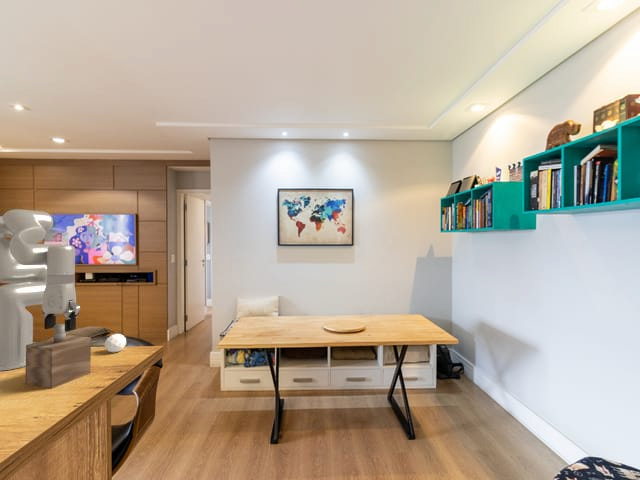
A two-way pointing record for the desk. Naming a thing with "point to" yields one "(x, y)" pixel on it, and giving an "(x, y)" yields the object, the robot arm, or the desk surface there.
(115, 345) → the geometric ball
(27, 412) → the desk surface
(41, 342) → the walnut cover
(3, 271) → the robot arm
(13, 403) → the desk surface
